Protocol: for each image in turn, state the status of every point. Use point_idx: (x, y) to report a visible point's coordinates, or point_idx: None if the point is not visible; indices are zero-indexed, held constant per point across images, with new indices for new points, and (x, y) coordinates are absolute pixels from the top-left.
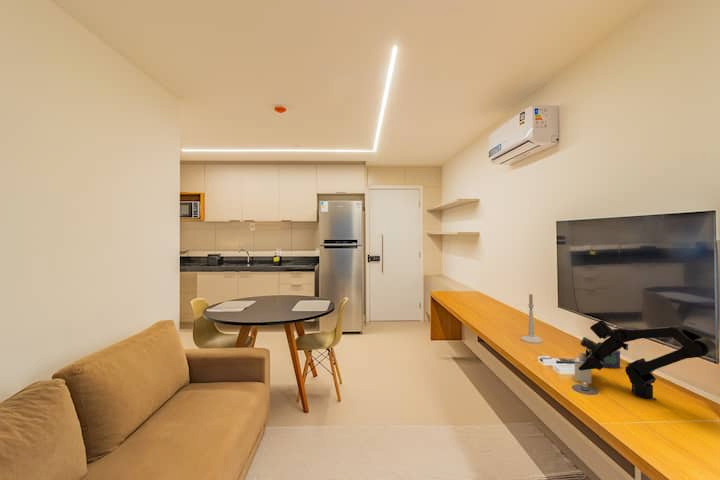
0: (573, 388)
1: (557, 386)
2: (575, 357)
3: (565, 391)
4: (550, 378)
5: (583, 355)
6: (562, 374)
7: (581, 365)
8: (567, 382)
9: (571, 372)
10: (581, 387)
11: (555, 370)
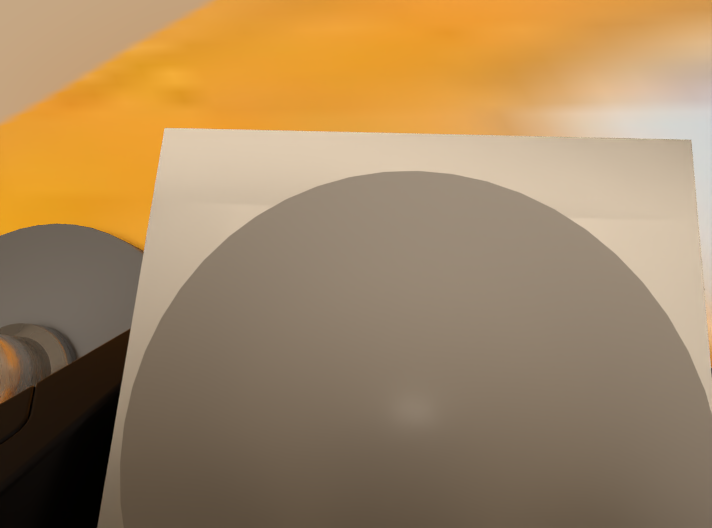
0: (24, 245)
1: (114, 96)
2: (624, 162)
3: (4, 172)
4: (326, 22)
5: (143, 475)
6: None
7: None
8: None
9: (702, 250)
10: (10, 334)
11: (653, 58)
